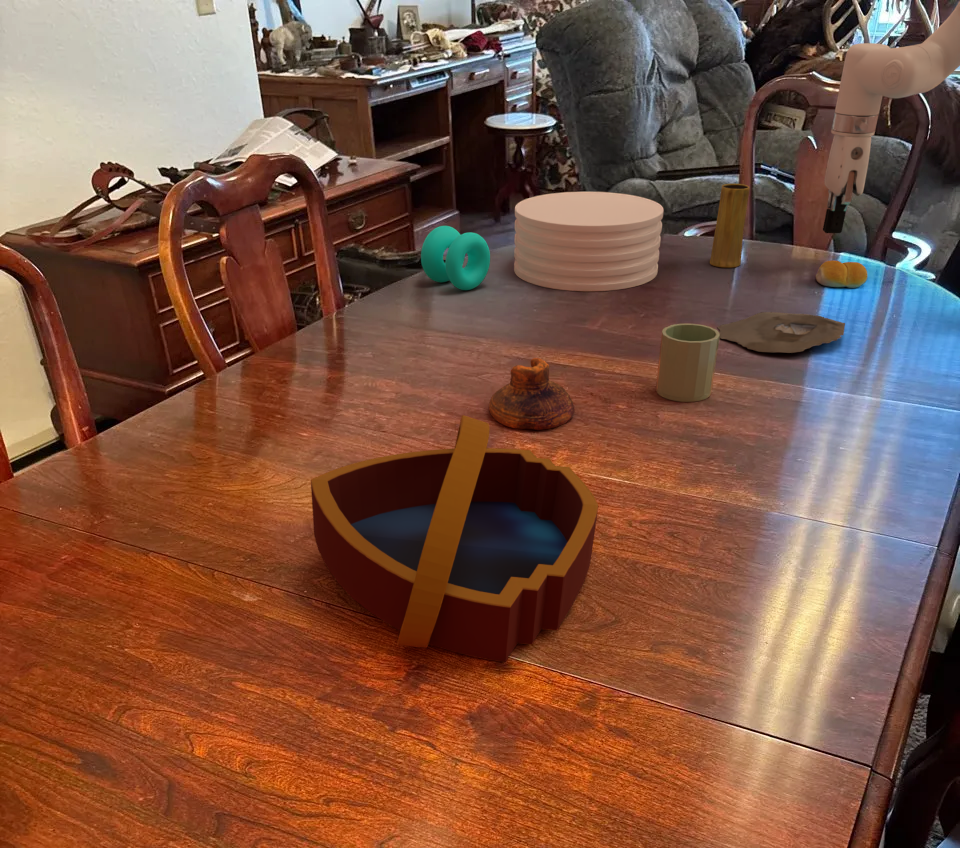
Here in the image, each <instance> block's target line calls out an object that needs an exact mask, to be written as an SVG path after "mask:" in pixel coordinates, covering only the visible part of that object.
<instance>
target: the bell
mask: <svg viewBox="0 0 960 848" xmlns="http://www.w3.org/2000/svg"><path fill="white" fill-rule="evenodd" d="M509 380H510V381H509V383H507V384H505V385H504V386H502V387H501V388H499V389H497V390H496V391H495V392H494V393H493V394H492V396H491V397H490V400H489V402H488V410H489V413H490V415H491V416H492V417H493V419H494V420H495V421H497V422H498V423H499V424H501V425H503V426H506V427H509V428H511V429H517V430H534V431H542V430H543V431H544V430H550V429H553V428H557V427H559V426H561V425H564V424H565V423H567V422H569V420H570V419H571V418H572V417H573V415H574V413H575V403H574V400H573V399H572V397H571V395H570V394H569V392H568V390H566V388H564V387H563V385H561V384H559V383H557V382H555V381H552V380H550V364H548V363H547V362H546V361H545V360H544V359H542V358H540V357H534V358H532V359H530V366H524V365H521V364H517V365H514V366H512V368H511V369H510V379H509Z"/></svg>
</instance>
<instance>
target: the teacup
mask: <svg viewBox="0 0 960 848" xmlns="http://www.w3.org/2000/svg"><path fill="white" fill-rule="evenodd" d="M719 332H720V331H719V330H717V329H716V328H714V327H712V326H709V325H705V324H698V323H675V324H671V325H669V326H666V327H664V328H663V329H662V330H661V335H660V346H659V353H658V354H659V355H658V364H657V372H656V373H657V374H656V383H655V386H656V389H655V391H656V393H657V395H658V396H660V397H662V398H664V399H666V400H670V401H673V402H680V403H692V402H693V403H695V402H701V401H703V400H707V399H708V398H710V397H711V395H712V392H713V386H714V379H715V374H716V373H715V372H716V366H717V358H718V352H719V345H720V339H721V338H720V334H719Z"/></svg>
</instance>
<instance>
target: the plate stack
mask: <svg viewBox="0 0 960 848" xmlns="http://www.w3.org/2000/svg"><path fill="white" fill-rule="evenodd" d="M514 216H515V220H514V231H515V234H514V246H515V247H514V252H513V253H514V255H513V257H514V262H513V263H514V264H513V272H514V274H515V275H516V276H517V277H518V278H519V279H521V281H524V282H527V283H528V284H531V285H534V286H539V287H542V288H548V289H553V290H560V291H570V292H608V291H609V292H611V291H618V290H619V291H620V290H625V289H630V288H634V287H639V286H641V285H645V284H647V283H649V282H651V281H653V280H654V279H655V278H656V277H657V275H658V271H659V264H658V262H659V260H660V247H661V241H662V237H661V233H662V231H663V222H662V220H663V218H664V207H663V205H661V204H660V203H658V202H657V201H655V200H652V199H650V198H646V197H643V196H638V195H633V194H627V193H619V192H608V191H564V192H555V193H554V192H553V193H547V194H540V195H535V196H532V197H531V196H530V197H529V198H525V199H522V200H521V201H519V202H517V203H516V204H515V207H514Z"/></svg>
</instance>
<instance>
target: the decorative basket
mask: <svg viewBox="0 0 960 848" xmlns="http://www.w3.org/2000/svg"><path fill="white" fill-rule="evenodd" d="M489 439H490V424H489V422H487V421H483V420H480V419H478V418H474V417H470V416H468V415H464V414H462V415H461V416H460V421H459V425H458V430H457V434H456V439H455V444H454V448H441V449H440V448H439V449H428V450H418V451H410V452H409V451H408V452H403V453H395V454H388V455H383V456H379V457H378V456H377V457H374V458H370V459H365V460H361V461H357V462H354V463H350V464H347V465H343V466H341V467H337V468H335V469H332V470H330V471H326V472H325V473H322V474H320V475H318V476H315V477H313V478H311V479H310V489H311V490H310V492H311V504H312V505H311V507H312V521H313V523H312V524H313V535H314V540H315V543H316V546H317V551H318V553H319V555H320V556H321V558H322V560H323V563H324V564H325V566H326V568H327V569H328V571H329V572H330V573H331V575H332V577H333V578H334V580H335V581H336V582H337V584H338V585H339V586H340V587H341V588H342V589H343V590H344V591H345V592H346V593H347V594H348V595H349V597H351V598H352V599H353V600H354V601H355V602H356V603H357V604H359V605H360V606H361V607H363V608H364V609H365V610H367V611H368V612H369V613H371V614H372V615H374V616H375V617H376V618H378V619H380V621H383V622H384V623H386V624H387V625H389V626H390V627H392V628H394V629H395V630H397V631H399V635H398V637H397V646H402V647H413V648H423V649H424V648H426V649H427V648H428V647H429V645H431V646H434V647H437V648H440V649H443V650H447V651H450V652H453V653H458V654H461V655H465V656H470V657H472V658H473V657H474V658H478V659H479V658H480V659H484V660H489V661H495V662H496V661H497V662H503V663H506V662H507V661H508V659H509V658H510V656H511V654H512V653H513V651H514V650H515V648H516V647H517V645H518V644H521V645H523V644H524V645H533V644H534V642H535V640H536V639H537V637H538V635H539V633H540V632H541V631H542V630H548V631H558V630H559V628H560V626H561V624H562V623H563V622H564V620H565V618H566V616H567V615H568V614H569V612H570V610H571V608H572V606H573V605H574V604H575V601H576V599H577V597H578V596H579V593H580V591H581V589H582V587H583V585H584V583H585V581H586V578H587V577H588V576H587V575H588V572H589V569H590V566H591V561H592V554H593V547H594V541H595V532H596V526H597V519H598V513H599V503H598V501H597V499H596V497H595V496H594V494H593V492H592V490H590V488H589V487H588V486H587V484H586V483H585V482H584V481H583V480H582V479H581V477H580V476H578V475H577V473H575V471H574V470H573V469H572V468H571V467H570V466H561V465H556V464H554V462H553V461H552V460H551V459H550V458H546V457H545V458H543V457H538V456H536V455H535V454H534V453H533V451H532V450H530V449H521V448H499V447H488V443H489Z"/></svg>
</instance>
